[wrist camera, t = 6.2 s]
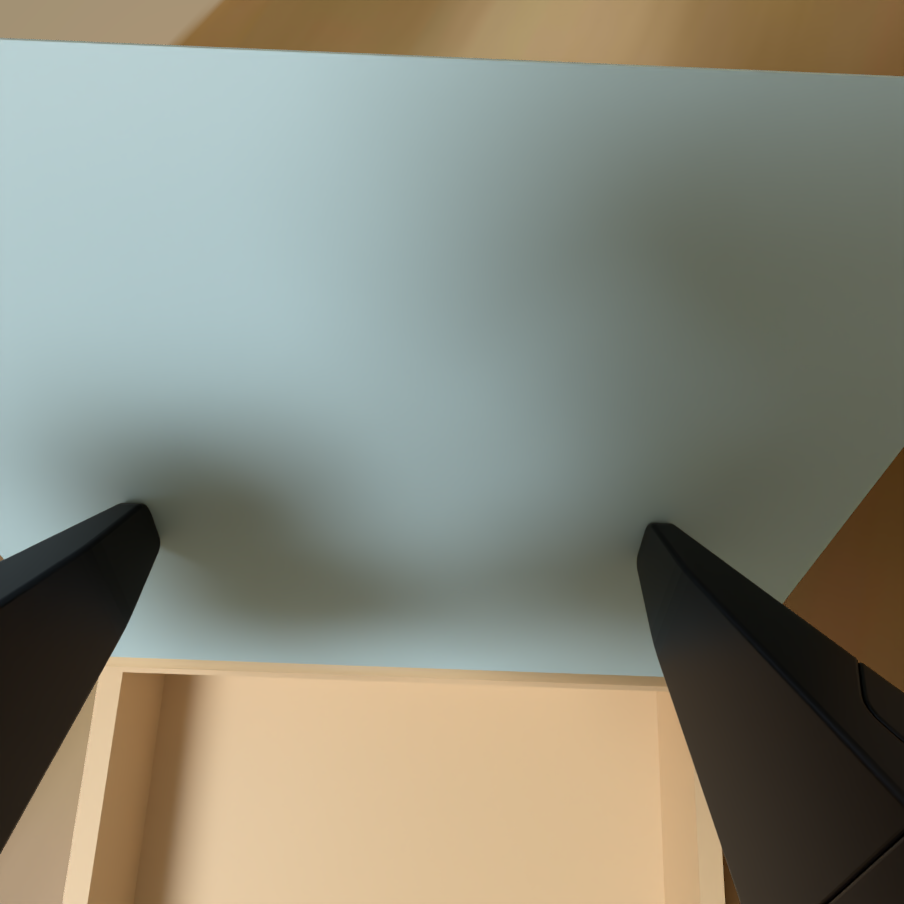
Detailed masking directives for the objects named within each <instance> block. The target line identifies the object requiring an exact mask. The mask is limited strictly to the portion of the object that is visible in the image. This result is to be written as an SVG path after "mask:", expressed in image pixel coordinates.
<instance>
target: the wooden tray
mask: <svg viewBox="0 0 904 904" xmlns="http://www.w3.org/2000/svg"><path fill="white" fill-rule="evenodd" d="M62 904H725V893H724V876H723V859H722V847H721V844H720V841H719V838H718V835H717V832H716V829H715V826H714V823H713V820H712V817H711V814H710V811H709V808H708V806H707V803H706V800H705V797H704V794H703V791H702V788H701V785H700V782H699V779H698V776H697V773H696V770H695V767H694V764H693V761H692V758H691V755H690V752H689V749H688V746H687V743H686V741H685V738H684V735H683V732H682V729H681V726H680V723H679V720H678V717H677V714H676V711H675V708H674V705H673V702H672V699H671V696H670V693H669V690H668V687H660V686H632V685H605V684H577V683H549V682H522V681H494V680H467V679H439V678H412V677H384V676H356V675H329V674H301V673H274V672H246V671H218V670H191V669H163V668H136V667H108V666H105V667H104V669H103V671H102V672H101V674H100V676H99V678H98V685H97V691H96V697H95V703H94V709H93V716H92V722H91V728H90V734H89V740H88V747H87V753H86V759H85V765H84V771H83V778H82V784H81V790H80V796H79V802H78V809H77V815H76V821H75V827H74V833H73V840H72V846H71V852H70V858H69V864H68V871H67V877H66V883H65V889H64V895H63V901H62Z"/></svg>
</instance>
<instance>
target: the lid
mask: <svg viewBox="0 0 904 904" xmlns="http://www.w3.org/2000/svg"><path fill="white" fill-rule="evenodd" d="M903 447H904V76H882V75H859V74H836V73H812V72H789V71H765V70H742V69H718V68H695V67H671V66H648V65H625V64H601V63H578V62H554V61H531V60H507V59H484V58H460V57H437V56H413V55H390V54H367V53H343V52H320V51H296V50H273V49H249V48H226V47H202V46H179V45H155V44H132V43H109V42H85V41H61V40H38V39H37V40H36V39H14V38H0V555H1V556H2V557H3V559H6V558H8V557H10V556H12V555H14V554H16V553H19V552H21V551H23V550H25V549H27V548H29V547H31V546H33V545H35V544H37V543H39V542H41V541H43V540H45V539H47V538H49V537H51V536H53V535H55V534H57V533H60V532H62V531H64V530H66V529H68V528H70V527H72V526H74V525H76V524H78V523H80V522H82V521H84V520H86V519H88V518H90V517H92V516H94V515H96V514H98V513H100V512H103V511H105V510H107V509H109V508H111V507H113V506H115V505H117V504H119V503H143V504H145V505H147V507H148V508H149V510H150V512H151V514H152V516H153V519H154V522H155V525H156V528H157V531H158V533H159V536H160V549H159V553H158V555H157V557H156V560H155V562H154V564H153V567H152V569H151V571H150V574H149V576H148V579H147V581H146V583H145V586H144V588H143V590H142V593H141V595H140V597H139V600H138V602H137V604H136V607H135V609H134V611H133V614H132V616H131V618H130V620H129V622H128V625H127V627H126V629H125V630H124V632H123V634H122V636H121V638H120V640H119V642H118V644H117V645H116V647H115V649H114V651H113V653H112V654H111V656H110V658H109V660H108V662H107V663H106V665H105V666H108V667H136V668H163V669H191V670H218V671H246V672H274V673H301V674H329V675H356V676H384V677H412V678H439V679H467V680H494V681H522V682H549V683H577V684H605V685H632V686H660V687H667V684H666V681H665V678H664V676H663V673H662V670H661V667H660V664H659V661H658V658H657V654H656V651H655V648H654V644H653V640H652V636H651V632H650V627H649V623H648V618H647V613H646V609H645V604H644V599H643V595H642V590H641V585H640V581H639V576H638V572H637V555H638V551H639V548H640V545H641V542H642V538H643V535H644V532H645V529H646V527H647V525H648V524H650V523H652V522H656V523H672V524H674V525H675V526H677V527H678V528H680V529H681V530H682V531H684V532H685V533H686V534H688V535H689V536H690V537H692V538H693V539H695V540H696V541H697V542H699V543H700V544H701V545H703V546H704V547H705V548H707V549H708V550H710V551H711V552H712V553H714V554H715V555H716V556H718V557H719V558H720V559H722V560H723V561H725V562H726V563H727V564H729V565H730V566H731V567H733V568H734V569H735V570H737V571H738V572H739V573H741V574H742V575H744V576H745V577H746V578H748V579H749V580H750V581H752V582H753V583H754V584H756V585H757V586H759V587H760V588H761V589H763V590H764V591H765V592H767V593H768V594H769V595H771V596H772V597H773V598H775V599H776V600H778V601H779V602H780V603H782V604H783V602H784V601H785V600H786V598H787V597H788V596H789V595H790V593H791V592H792V591H793V589H794V588H795V587H796V585H797V584H798V583H799V582H800V580H801V579H802V578H803V576H804V575H805V574H806V573H807V571H808V570H809V569H810V567H811V566H812V565H813V563H814V562H815V561H816V560H817V558H818V557H819V556H820V554H821V553H822V552H823V551H824V549H825V548H826V547H827V545H828V544H829V543H830V542H831V540H832V539H833V538H834V536H835V535H836V534H837V532H838V531H839V530H840V529H841V527H842V526H843V525H844V523H845V522H846V521H847V520H848V518H849V517H850V516H851V514H852V513H853V512H854V510H855V509H856V508H857V507H858V505H859V504H860V503H861V501H862V500H863V499H864V498H865V496H866V495H867V494H868V492H869V491H870V490H871V488H872V487H873V486H874V485H875V483H876V482H877V481H878V479H879V478H880V477H881V476H882V474H883V473H884V472H885V470H886V469H887V468H888V466H889V465H890V464H891V463H892V461H893V460H894V459H895V457H896V456H897V455H898V454H899V452H900V451H901V450H902V448H903Z"/></svg>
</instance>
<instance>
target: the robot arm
mask: <svg viewBox="0 0 904 904" xmlns="http://www.w3.org/2000/svg"><path fill="white" fill-rule="evenodd" d="M159 549H160V536H159V533H158V531H157V528H156V525H155V522H154V519H153V516H152V514H151V512H150V510H149V508H148V507H147V505H145V504H143V503H119V504H117V505H115V506H113V507H111V508H109V509H107V510H105V511H103V512H100V513H98V514H96V515H94V516H92V517H90V518H88V519H86V520H84V521H82V522H80V523H78V524H76V525H74V526H72V527H70V528H68V529H66V530H64V531H62V532H60V533H57V534H55V535H53V536H51V537H49V538H47V539H45V540H43V541H41V542H39V543H37V544H35V545H33V546H31V547H29V548H27V549H25V550H23V551H21V552H19V553H16V554H14V555H12V556H10V557H8V558H6V559H4V560H2V561H0V854H1V852H2V850H3V848H4V847H5V845H6V843H7V841H8V839H9V838H10V836H11V834H12V832H13V830H14V829H15V827H16V825H17V823H18V821H19V820H20V818H21V816H22V814H23V812H24V811H25V809H26V807H27V805H28V803H29V802H30V800H31V798H32V796H33V794H34V793H35V791H36V789H37V787H38V785H39V784H40V782H41V780H42V778H43V776H44V775H45V773H46V771H47V769H48V768H49V766H50V764H51V762H52V760H53V759H54V757H55V755H56V753H57V751H58V750H59V748H60V746H61V744H62V742H63V741H64V739H65V737H66V735H67V733H68V732H69V730H70V728H71V726H72V724H73V723H74V721H75V719H76V717H77V715H78V714H79V712H80V710H81V708H82V706H83V705H84V703H85V701H86V699H87V697H88V696H89V694H90V692H91V690H92V688H93V687H94V685H95V683H96V681H97V680H98V678H99V676H100V674H101V672H102V671H103V669H104V667H105V665H106V663H107V662H108V660H109V658H110V656H111V654H112V653H113V651H114V649H115V647H116V645H117V644H118V642H119V640H120V638H121V636H122V634H123V632H124V630H125V629H126V627H127V625H128V622H129V620H130V618H131V616H132V614H133V611H134V609H135V607H136V604H137V602H138V600H139V597H140V595H141V593H142V590H143V588H144V586H145V583H146V581H147V579H148V576H149V574H150V571H151V569H152V567H153V564H154V562H155V560H156V557H157V555H158V553H159ZM637 572H638V576H639V581H640V585H641V590H642V595H643V599H644V604H645V609H646V613H647V618H648V623H649V627H650V632H651V636H652V640H653V644H654V648H655V651H656V654H657V658H658V661H659V664H660V667H661V670H662V673H663V676H664V678H665V681H666V684H667V687H668V690H669V693H670V696H671V699H672V702H673V705H674V708H675V711H676V714H677V717H678V720H679V723H680V726H681V729H682V732H683V735H684V738H685V741H686V743H687V746H688V749H689V752H690V755H691V758H692V761H693V764H694V767H695V770H696V773H697V776H698V779H699V782H700V785H701V788H702V791H703V794H704V797H705V800H706V803H707V806H708V808H709V811H710V814H711V817H712V820H713V823H714V826H715V829H716V832H717V835H718V838H719V841H720V844H721V847H722V850H723V853H724V856H725V859H726V862H727V865H728V868H729V871H730V874H731V876H732V879H733V882H734V885H735V888H736V891H737V894H738V897H739V900H740V903H741V904H904V693H903V692H902V691H901V690H899V689H898V688H896V687H895V686H894V685H892V684H891V683H889V682H888V681H887V680H885V679H884V678H883V677H881V676H880V675H878V674H877V673H876V672H874V671H873V670H872V669H870V668H869V667H868V666H866V665H865V664H863V663H858V660H857V659H856V658H855V657H854V656H852V655H851V654H850V653H848V652H847V651H846V650H844V649H843V648H842V647H840V646H839V645H837V644H836V643H835V642H833V641H832V640H831V639H829V638H828V637H827V636H825V635H824V634H822V633H821V632H820V631H818V630H817V629H816V628H814V627H813V626H812V625H810V624H809V623H808V622H806V621H805V620H803V619H802V618H801V617H799V616H798V615H797V614H795V613H794V612H793V611H791V610H790V609H788V608H787V607H786V606H784V605H783V604H782V603H780V602H779V601H778V600H776V599H775V598H773V597H772V596H771V595H769V594H768V593H767V592H765V591H764V590H763V589H761V588H760V587H759V586H757V585H756V584H754V583H753V582H752V581H750V580H749V579H748V578H746V577H745V576H744V575H742V574H741V573H739V572H738V571H737V570H735V569H734V568H733V567H731V566H730V565H729V564H727V563H726V562H725V561H723V560H722V559H720V558H719V557H718V556H716V555H715V554H714V553H712V552H711V551H710V550H708V549H707V548H705V547H704V546H703V545H701V544H700V543H699V542H697V541H696V540H695V539H693V538H692V537H690V536H689V535H688V534H686V533H685V532H684V531H682V530H681V529H680V528H678V527H677V526H675V525H674V524H672V523H656V522H652V523H650V524H648V525H647V527H646V529H645V532H644V535H643V538H642V542H641V545H640V548H639V551H638V555H637Z"/></svg>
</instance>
